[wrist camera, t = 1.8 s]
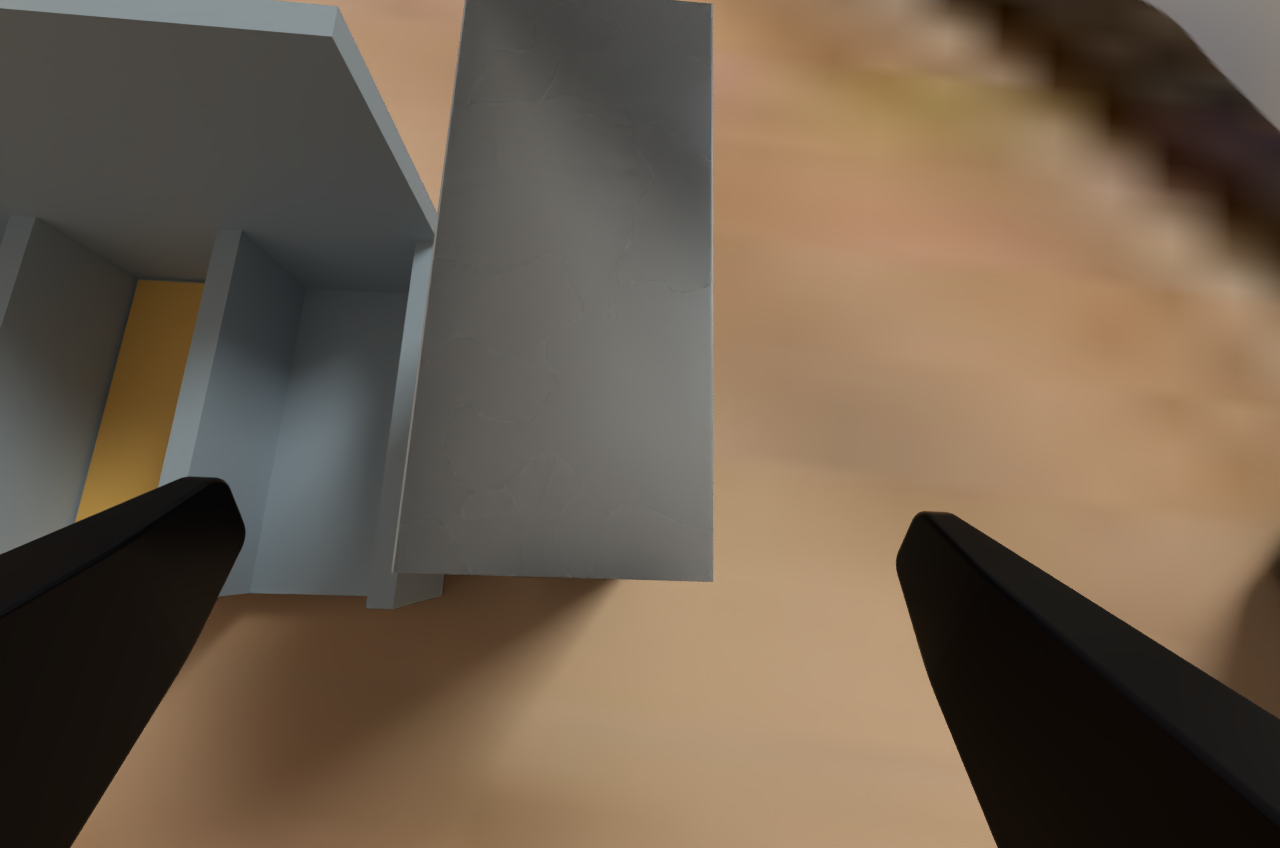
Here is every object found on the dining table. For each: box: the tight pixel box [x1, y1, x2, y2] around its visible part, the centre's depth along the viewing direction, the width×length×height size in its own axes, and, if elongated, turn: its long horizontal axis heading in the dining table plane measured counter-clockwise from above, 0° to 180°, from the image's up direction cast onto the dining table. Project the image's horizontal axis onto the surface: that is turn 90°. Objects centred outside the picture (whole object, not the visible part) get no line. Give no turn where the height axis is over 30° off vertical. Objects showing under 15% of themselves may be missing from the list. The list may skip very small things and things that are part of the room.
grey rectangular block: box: [391, 0, 713, 582], centre depth 12 cm, size 7×3×12 cm, turn 178°
